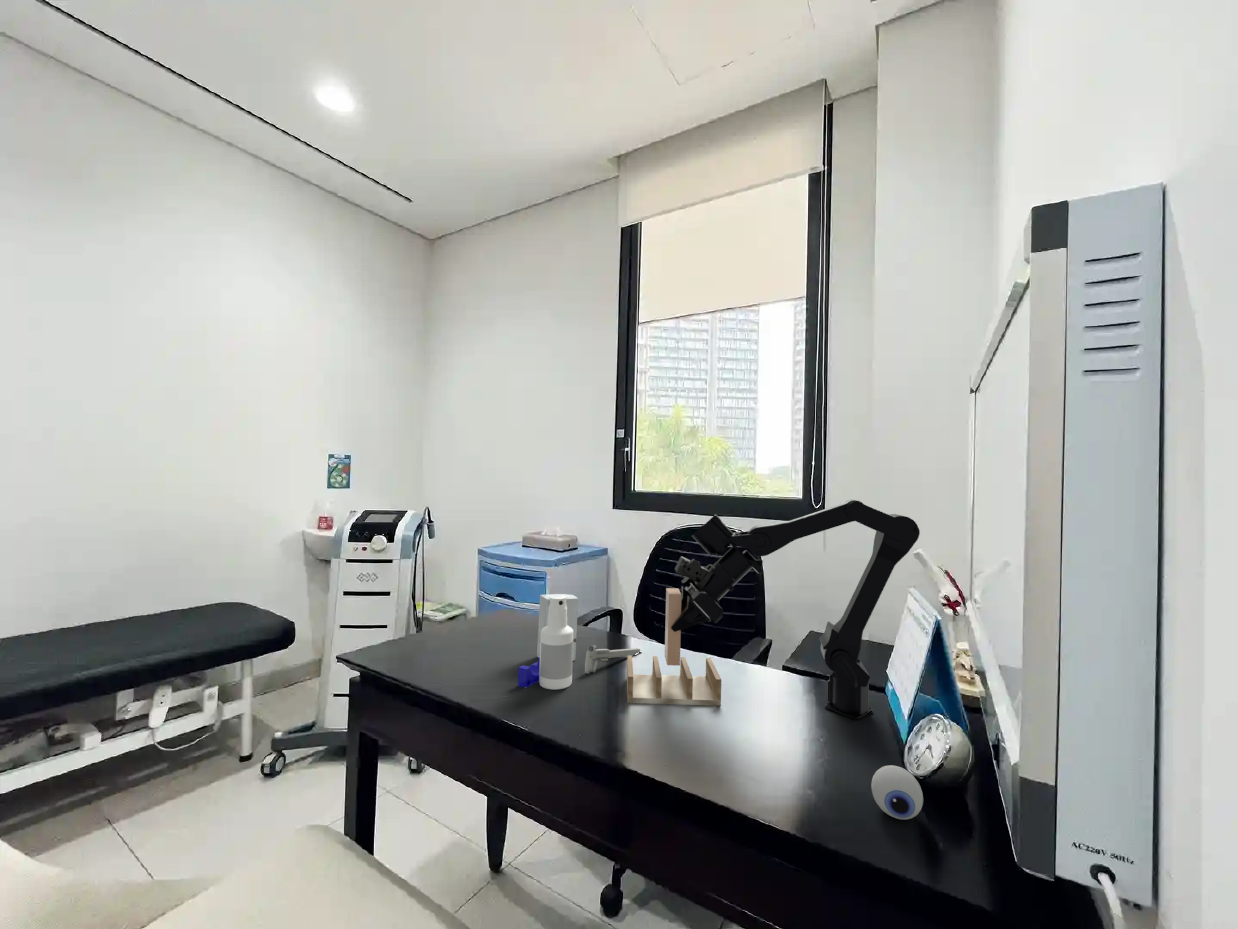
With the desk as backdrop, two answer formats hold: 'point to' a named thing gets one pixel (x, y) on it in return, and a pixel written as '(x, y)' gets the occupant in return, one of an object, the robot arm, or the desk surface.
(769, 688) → the desk surface
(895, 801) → the eyeball
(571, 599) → the skincare box
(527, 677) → the cable holder
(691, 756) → the desk surface
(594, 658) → the caliper
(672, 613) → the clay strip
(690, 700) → the rack
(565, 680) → the spray bottle
